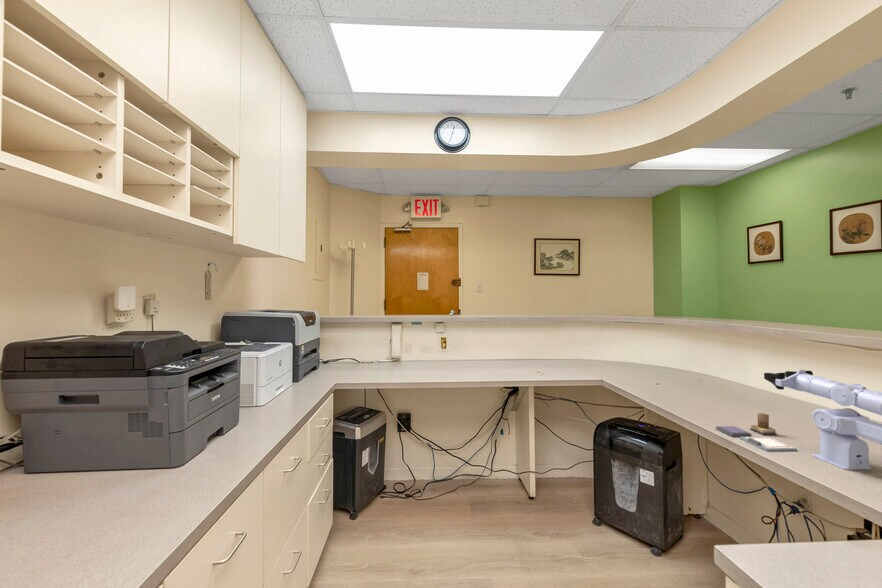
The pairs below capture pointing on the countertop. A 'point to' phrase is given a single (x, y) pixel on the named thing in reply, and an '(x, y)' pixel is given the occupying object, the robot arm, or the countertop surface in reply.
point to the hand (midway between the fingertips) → (775, 374)
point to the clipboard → (768, 443)
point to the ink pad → (733, 431)
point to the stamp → (763, 425)
